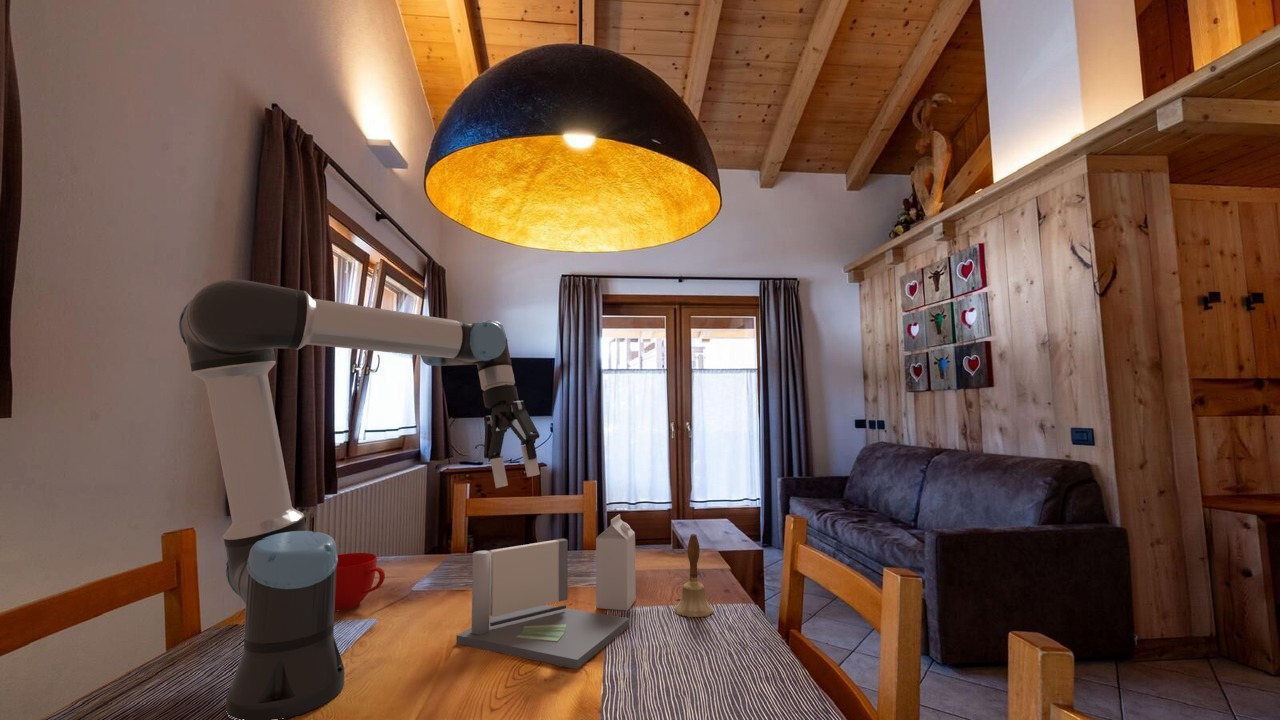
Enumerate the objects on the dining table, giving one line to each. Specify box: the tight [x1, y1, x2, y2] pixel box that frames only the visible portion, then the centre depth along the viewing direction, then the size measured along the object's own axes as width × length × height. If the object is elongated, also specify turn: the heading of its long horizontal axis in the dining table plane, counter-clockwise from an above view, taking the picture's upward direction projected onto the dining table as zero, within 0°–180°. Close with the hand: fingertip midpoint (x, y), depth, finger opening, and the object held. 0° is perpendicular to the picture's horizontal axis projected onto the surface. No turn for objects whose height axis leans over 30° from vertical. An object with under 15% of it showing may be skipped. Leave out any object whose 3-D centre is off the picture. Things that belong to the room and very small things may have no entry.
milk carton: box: [595, 513, 637, 611], centre depth 123 cm, size 7×7×19 cm
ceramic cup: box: [334, 552, 386, 612], centre depth 123 cm, size 13×17×10 cm
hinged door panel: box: [471, 538, 569, 635], centre depth 109 cm, size 20×3×14 cm, turn 126°
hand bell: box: [674, 533, 714, 618], centre depth 119 cm, size 8×8×16 cm
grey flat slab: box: [455, 604, 630, 670], centre depth 106 cm, size 20×26×2 cm
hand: (517, 481), depth 120 cm, fingers open, 13 cm apart
